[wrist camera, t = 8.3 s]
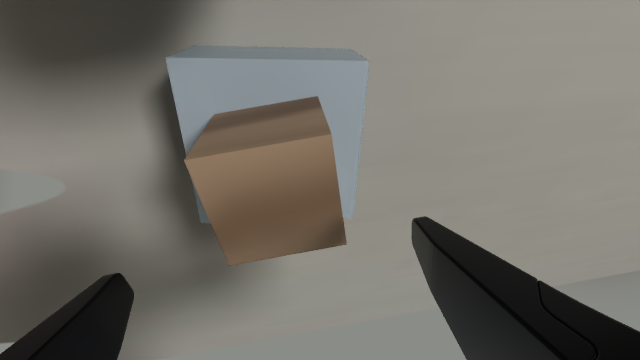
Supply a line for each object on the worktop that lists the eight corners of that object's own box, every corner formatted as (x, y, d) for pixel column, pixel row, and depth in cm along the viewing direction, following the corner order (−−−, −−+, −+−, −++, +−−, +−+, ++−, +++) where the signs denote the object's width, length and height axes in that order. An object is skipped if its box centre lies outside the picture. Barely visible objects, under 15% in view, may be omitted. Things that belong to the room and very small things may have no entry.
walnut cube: (214, 114, 14) (183, 160, 10) (317, 95, 14) (331, 134, 10) (243, 199, 17) (229, 265, 12) (330, 183, 17) (346, 244, 12)
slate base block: (195, 45, 17) (165, 57, 13) (349, 48, 18) (369, 60, 14) (217, 180, 22) (200, 223, 17) (340, 177, 22) (353, 217, 18)
